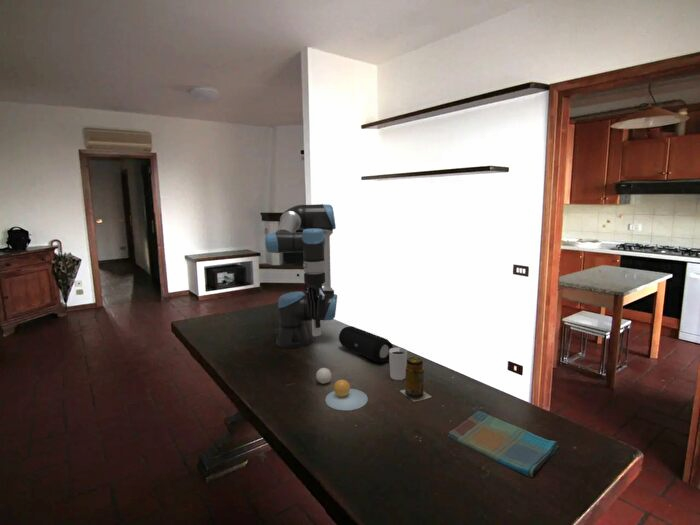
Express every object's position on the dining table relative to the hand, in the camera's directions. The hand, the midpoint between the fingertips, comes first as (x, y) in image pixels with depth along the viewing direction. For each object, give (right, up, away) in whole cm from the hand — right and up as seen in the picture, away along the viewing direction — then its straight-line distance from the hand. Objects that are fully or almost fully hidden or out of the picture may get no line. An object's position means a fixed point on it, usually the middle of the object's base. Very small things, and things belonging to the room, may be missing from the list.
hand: (316, 335), depth 144 cm
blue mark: (+11, -19, -14) cm, 26 cm away
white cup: (+30, -16, +2) cm, 34 cm away
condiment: (+34, -18, -11) cm, 40 cm away
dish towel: (+53, -23, -38) cm, 69 cm away
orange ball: (+9, -16, -12) cm, 22 cm away
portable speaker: (+19, -13, +23) cm, 32 cm away
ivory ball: (+3, -14, -3) cm, 15 cm away
